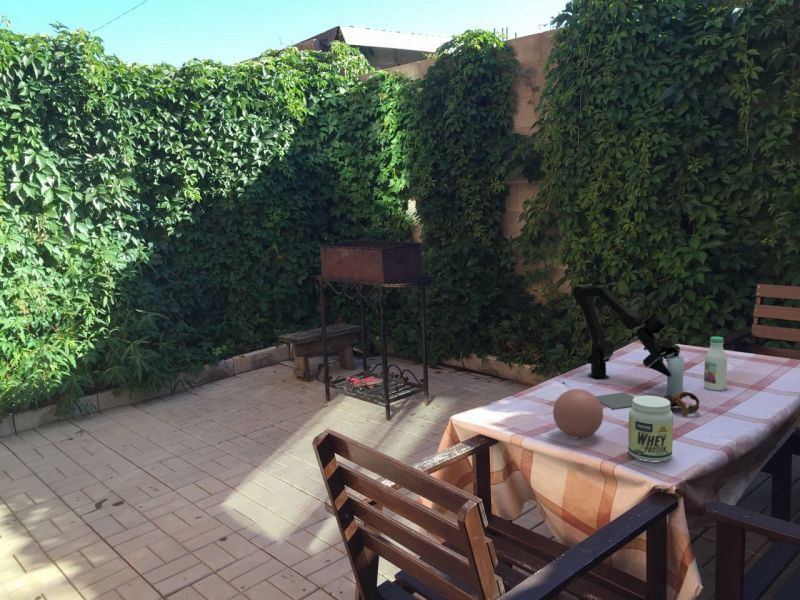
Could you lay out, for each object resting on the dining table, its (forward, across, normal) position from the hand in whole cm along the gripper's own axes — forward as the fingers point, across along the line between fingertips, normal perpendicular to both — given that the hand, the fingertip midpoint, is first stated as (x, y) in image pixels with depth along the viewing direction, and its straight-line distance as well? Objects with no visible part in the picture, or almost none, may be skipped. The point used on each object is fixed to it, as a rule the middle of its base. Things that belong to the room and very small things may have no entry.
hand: (676, 373), depth 241 cm
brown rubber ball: (+4, -58, +7) cm, 58 cm away
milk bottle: (+11, +16, +1) cm, 20 cm away
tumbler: (+5, 0, +6) cm, 8 cm away
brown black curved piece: (+13, -17, -1) cm, 22 cm away
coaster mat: (-2, -22, +13) cm, 26 cm away
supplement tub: (+21, -58, -10) cm, 63 cm away
